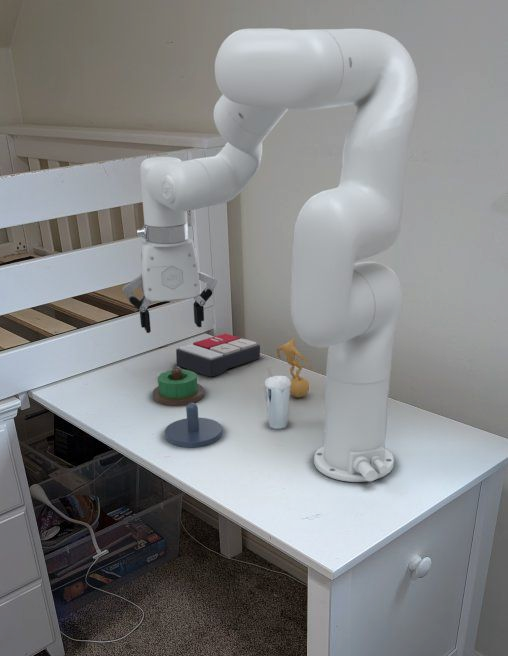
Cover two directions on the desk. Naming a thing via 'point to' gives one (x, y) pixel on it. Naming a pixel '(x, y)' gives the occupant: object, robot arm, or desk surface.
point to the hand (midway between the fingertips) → (173, 327)
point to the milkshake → (277, 400)
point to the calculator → (217, 354)
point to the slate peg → (193, 430)
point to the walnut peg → (178, 401)
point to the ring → (177, 384)
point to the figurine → (297, 383)
